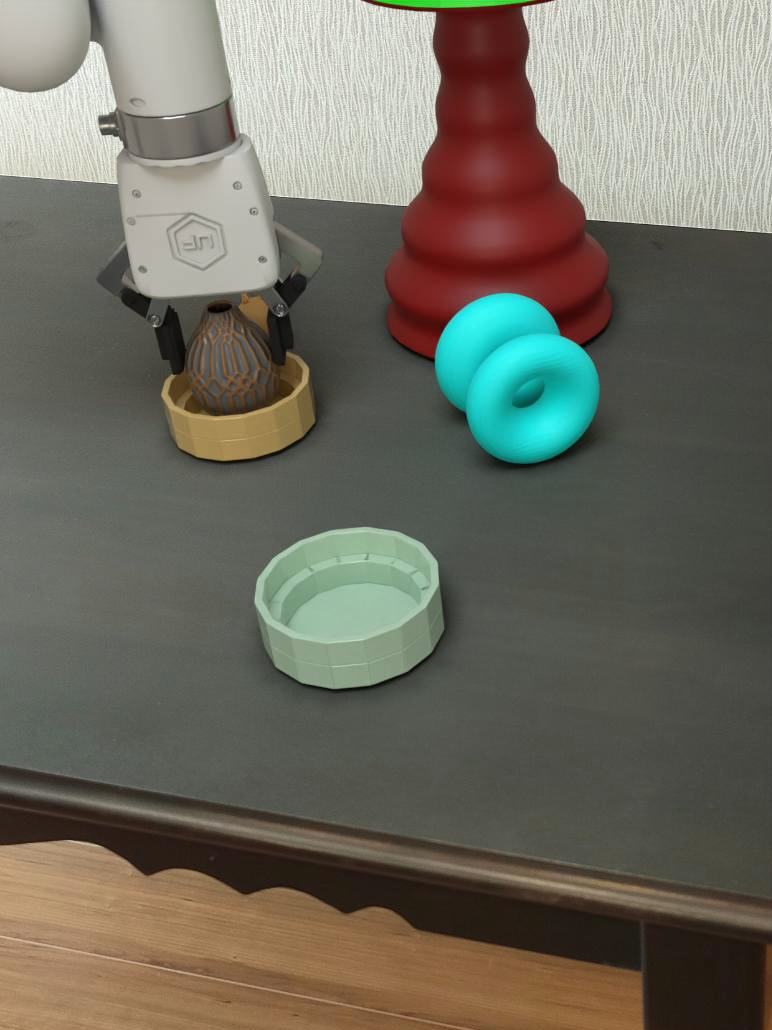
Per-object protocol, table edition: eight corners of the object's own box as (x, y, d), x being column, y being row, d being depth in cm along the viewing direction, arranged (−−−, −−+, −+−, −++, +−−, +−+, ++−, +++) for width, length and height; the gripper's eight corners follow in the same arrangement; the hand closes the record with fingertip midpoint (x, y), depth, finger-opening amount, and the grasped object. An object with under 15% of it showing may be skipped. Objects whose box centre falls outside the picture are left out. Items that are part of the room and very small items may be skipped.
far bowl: (164, 471, 95) (152, 425, 93) (183, 396, 104) (172, 352, 102) (313, 457, 96) (305, 411, 93) (319, 384, 105) (311, 340, 102)
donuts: (479, 485, 92) (469, 362, 86) (436, 419, 99) (423, 302, 93) (606, 452, 95) (605, 331, 89) (555, 390, 102) (550, 274, 96)
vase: (238, 443, 95) (214, 337, 90) (177, 416, 99) (151, 313, 93) (304, 403, 99) (286, 299, 94) (244, 378, 103) (223, 278, 98)
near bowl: (259, 702, 75) (247, 650, 73) (272, 585, 84) (262, 536, 81) (448, 683, 76) (441, 631, 73) (441, 569, 84) (435, 519, 82)
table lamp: (615, 367, 105) (609, -286, 78) (374, 374, 106) (285, -270, 79) (609, 264, 121) (602, -309, 94) (400, 270, 121) (333, -296, 94)
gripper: (37, 156, 82) (105, 397, 93) (308, 135, 83) (345, 376, 94) (60, 118, 88) (122, 348, 99) (313, 99, 89) (347, 329, 100)
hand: (230, 360), depth 96 cm, fingers closed on vase, 7 cm apart
